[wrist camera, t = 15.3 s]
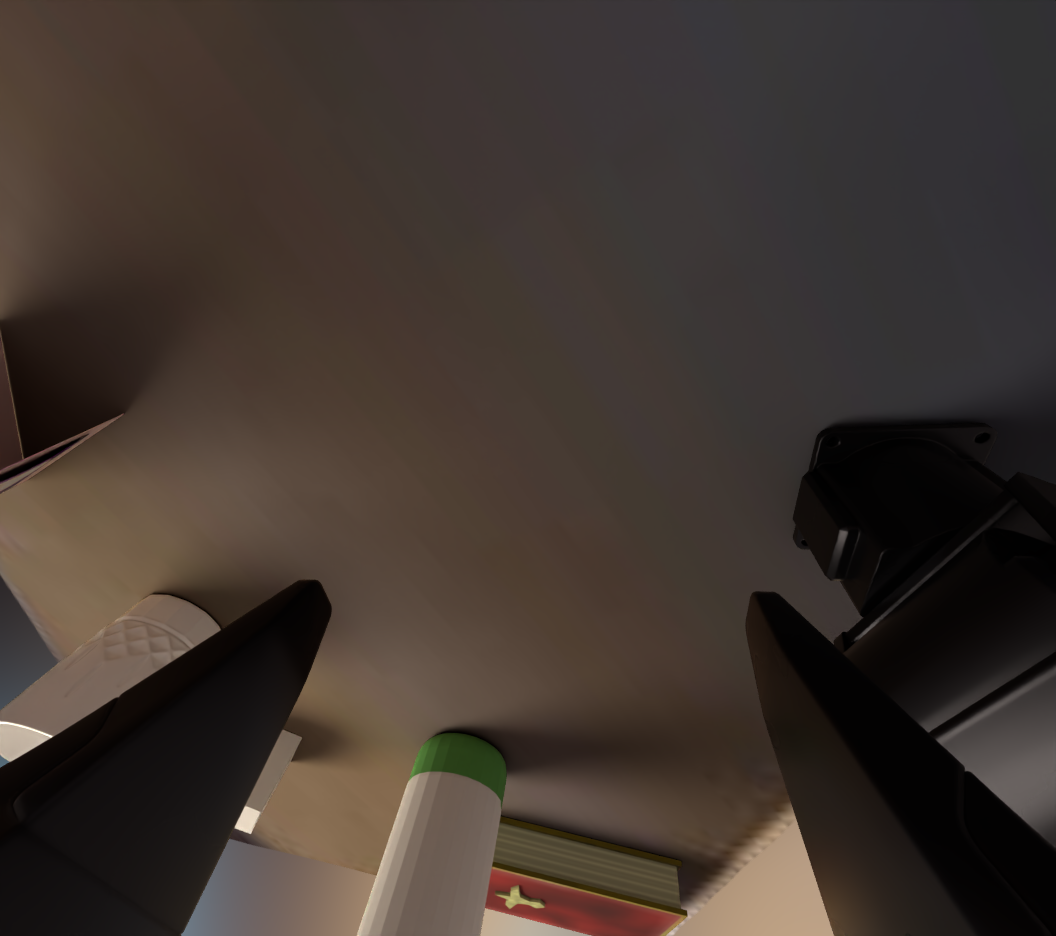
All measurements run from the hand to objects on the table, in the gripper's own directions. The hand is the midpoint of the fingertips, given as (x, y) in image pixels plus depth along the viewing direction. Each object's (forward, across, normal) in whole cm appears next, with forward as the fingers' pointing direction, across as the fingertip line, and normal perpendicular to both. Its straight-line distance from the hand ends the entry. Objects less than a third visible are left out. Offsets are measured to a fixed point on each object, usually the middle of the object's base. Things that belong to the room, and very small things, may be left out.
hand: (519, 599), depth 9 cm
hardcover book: (+13, +4, +52) cm, 54 cm away
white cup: (+13, +31, +18) cm, 38 cm away
